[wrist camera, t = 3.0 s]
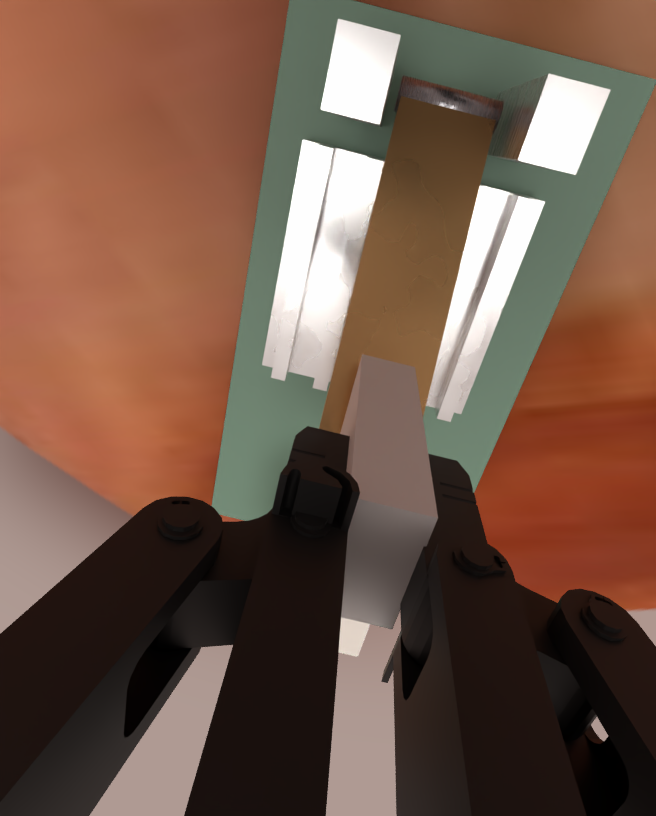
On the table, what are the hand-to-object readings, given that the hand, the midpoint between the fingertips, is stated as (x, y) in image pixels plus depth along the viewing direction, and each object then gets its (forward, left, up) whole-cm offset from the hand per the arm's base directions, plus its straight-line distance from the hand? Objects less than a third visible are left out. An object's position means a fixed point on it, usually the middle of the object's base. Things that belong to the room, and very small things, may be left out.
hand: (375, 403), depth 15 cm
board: (+1, +1, -10) cm, 10 cm away
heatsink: (-3, 0, -9) cm, 9 cm away
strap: (-1, 0, -3) cm, 3 cm away
